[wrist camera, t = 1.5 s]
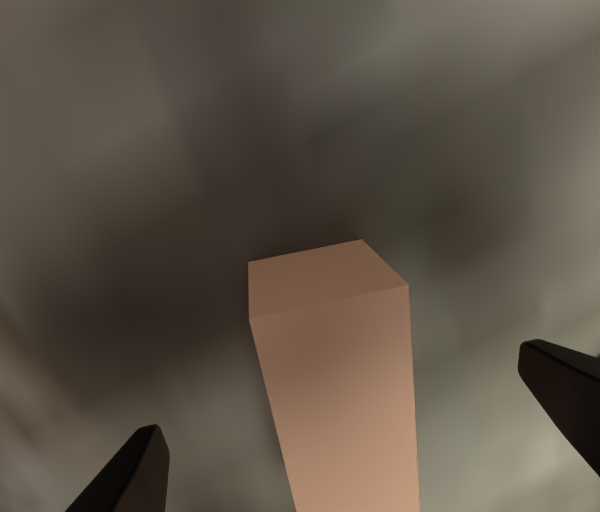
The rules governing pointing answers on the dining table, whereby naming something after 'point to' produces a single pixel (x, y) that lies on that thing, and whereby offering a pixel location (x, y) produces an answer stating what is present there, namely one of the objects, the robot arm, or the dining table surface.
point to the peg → (339, 376)
